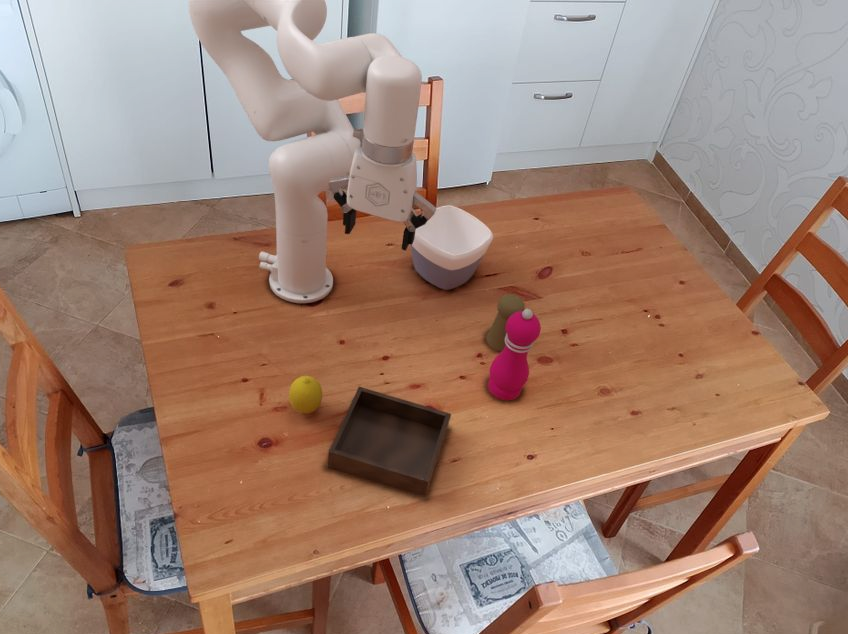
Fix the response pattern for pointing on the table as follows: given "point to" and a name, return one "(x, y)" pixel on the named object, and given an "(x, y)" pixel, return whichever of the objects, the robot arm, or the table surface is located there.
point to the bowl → (450, 247)
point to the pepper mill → (514, 356)
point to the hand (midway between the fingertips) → (378, 237)
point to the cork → (503, 320)
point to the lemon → (305, 394)
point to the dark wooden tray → (389, 441)
